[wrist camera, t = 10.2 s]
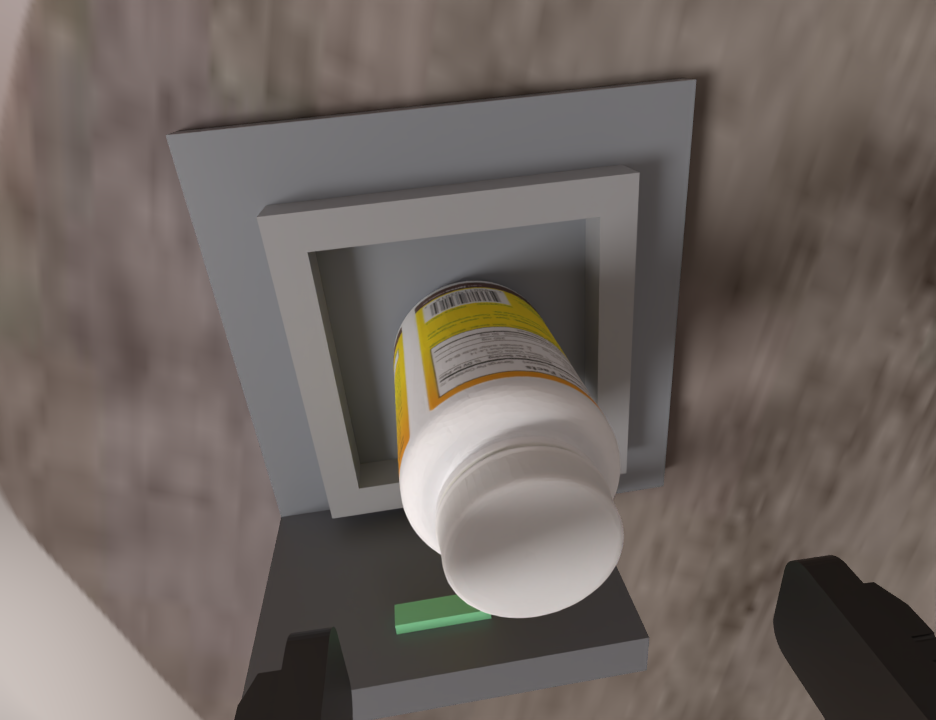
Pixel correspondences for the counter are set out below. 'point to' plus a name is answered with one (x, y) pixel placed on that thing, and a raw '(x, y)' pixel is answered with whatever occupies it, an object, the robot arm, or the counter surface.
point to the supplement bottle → (503, 453)
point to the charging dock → (377, 324)
